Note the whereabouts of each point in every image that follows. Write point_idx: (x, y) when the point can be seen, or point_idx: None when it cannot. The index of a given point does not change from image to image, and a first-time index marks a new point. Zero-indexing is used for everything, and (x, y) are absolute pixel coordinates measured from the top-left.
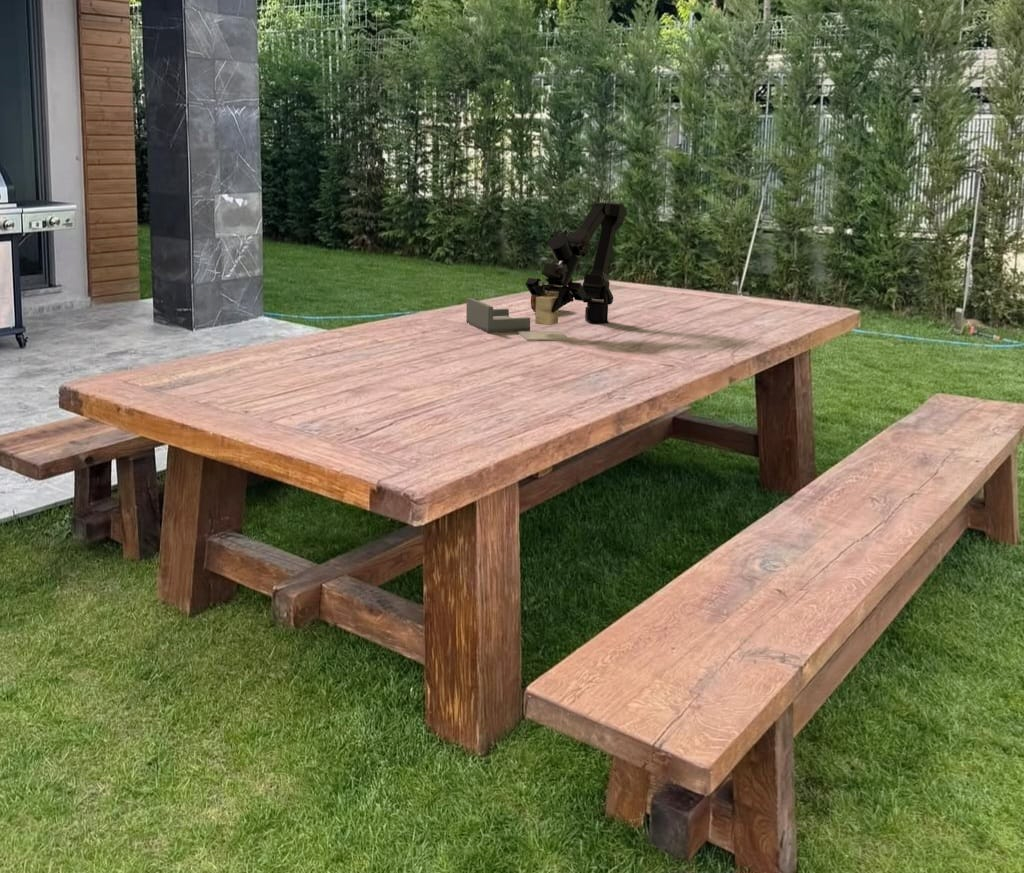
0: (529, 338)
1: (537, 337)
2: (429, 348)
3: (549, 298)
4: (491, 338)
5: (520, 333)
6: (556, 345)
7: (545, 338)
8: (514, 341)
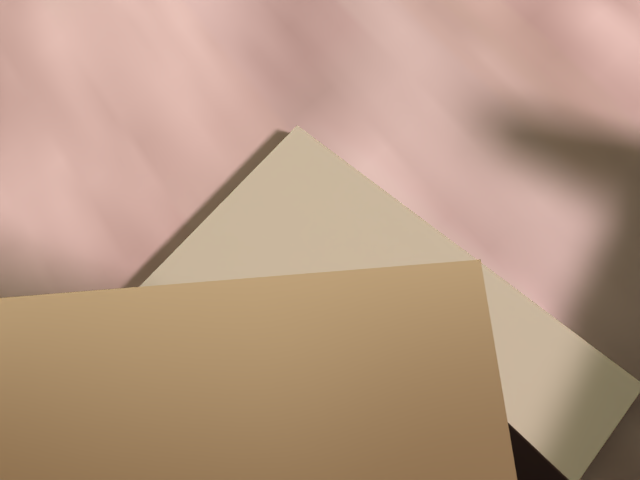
0: (296, 153)
1: (270, 239)
2: None
3: (11, 357)
4: (588, 31)
5: (529, 299)
6: (18, 153)
7: (186, 250)
8: (368, 60)
